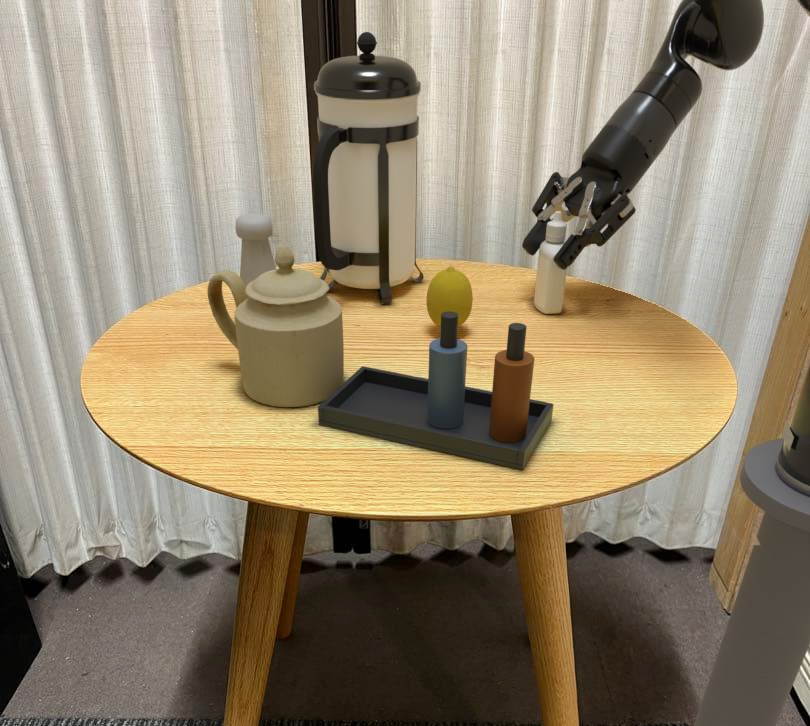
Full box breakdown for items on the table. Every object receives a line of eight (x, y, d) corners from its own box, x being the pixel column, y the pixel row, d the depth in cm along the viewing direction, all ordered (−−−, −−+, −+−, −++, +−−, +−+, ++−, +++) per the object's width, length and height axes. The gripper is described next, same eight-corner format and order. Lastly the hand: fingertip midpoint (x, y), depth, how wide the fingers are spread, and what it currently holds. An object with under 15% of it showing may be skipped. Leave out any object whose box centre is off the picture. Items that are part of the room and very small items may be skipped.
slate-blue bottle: (468, 416, 83) (474, 310, 77) (455, 432, 81) (461, 324, 74) (435, 409, 84) (438, 304, 78) (421, 424, 82) (424, 318, 75)
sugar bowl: (195, 405, 86) (171, 260, 77) (221, 359, 94) (203, 225, 85) (337, 410, 85) (331, 264, 76) (350, 364, 94) (346, 229, 85)
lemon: (441, 344, 98) (443, 278, 94) (417, 328, 102) (418, 263, 97) (479, 335, 101) (483, 270, 96) (454, 320, 104) (457, 256, 100)
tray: (551, 421, 83) (553, 403, 82) (522, 470, 76) (524, 451, 75) (362, 382, 90) (362, 365, 89) (318, 424, 83) (317, 406, 81)
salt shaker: (296, 320, 104) (288, 213, 96) (267, 336, 100) (257, 225, 92) (260, 311, 106) (249, 205, 98) (230, 325, 102) (217, 217, 94)
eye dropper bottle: (525, 311, 107) (534, 215, 100) (537, 297, 111) (547, 204, 104) (558, 317, 105) (570, 220, 98) (569, 302, 110) (581, 208, 102)
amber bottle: (530, 429, 81) (542, 321, 75) (519, 446, 78) (531, 336, 72) (495, 421, 82) (504, 315, 76) (483, 438, 80) (492, 329, 73)
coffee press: (301, 272, 118) (285, 26, 100) (410, 264, 121) (413, 24, 103) (321, 318, 104) (305, 43, 86) (442, 308, 108) (452, 40, 89)
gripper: (575, 112, 103) (492, 225, 105) (660, 133, 94) (566, 256, 96) (601, 153, 109) (521, 259, 111) (683, 177, 99) (594, 293, 101)
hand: (542, 257), depth 103 cm, fingers closed on eye dropper bottle, 5 cm apart
